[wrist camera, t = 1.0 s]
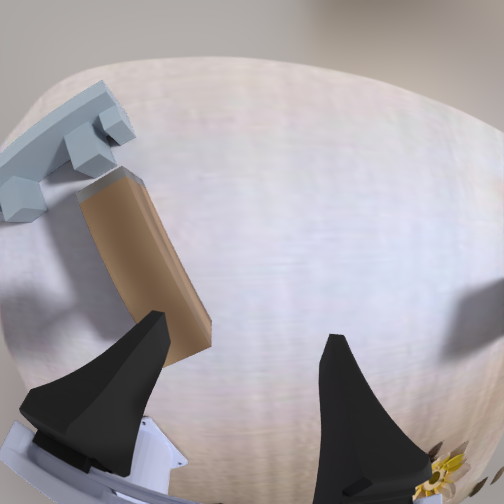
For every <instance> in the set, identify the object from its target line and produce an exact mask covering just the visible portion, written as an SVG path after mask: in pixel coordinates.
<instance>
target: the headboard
mask: <svg viewBox="0 0 504 504" xmlns="http://www.w3.org/2000/svg"><path fill="white" fill-rule="evenodd" d="M109 135H110V136H111V137H112V138H113V139H114V140H115V141H116V142H118V143H119V144H120V145H123V144H124V143H126V142H128V141H130V140H132V139H134V138H135V137H136V135H135V133H134V131H133V128H132V126H131V123H130V121H129V118H128V116H127V113H126V112H125V111H124V109H123V108H122V106H121V105H120V104H119V102H118V101H117V100H116V98H115V97H114V95H113V94H112V93H111V91H110V90H109V89H108V87H107V86H106V84H105V83H104V82H103V80H101V81H99V82H98V83H96V84H94V85H93V86H91V87H89V88H88V89H86V90H84V91H83V92H81V93H79V94H78V95H76V96H75V97H73V98H72V99H70V100H68V101H67V102H65V103H64V104H63V105H61V106H60V107H58V108H57V109H55V110H54V111H52V112H51V113H50V114H48V115H47V116H46V117H44V118H43V119H41V120H40V121H39V122H38V123H36V124H35V125H34V126H32V127H31V128H30V129H29V130H27V131H26V132H25V133H24V134H22V135H21V136H20V137H19V138H18V139H16V140H15V141H14V142H13V143H12V144H11V145H10V146H8V147H7V148H6V149H5V150H4V151H3V152H2V153H1V154H0V221H5V222H33V221H34V220H35V219H37V218H38V217H39V216H41V215H42V214H43V213H45V212H46V211H47V207H46V204H45V201H44V198H43V194H42V191H41V188H40V185H39V182H40V181H41V180H42V179H44V178H45V177H46V176H48V175H49V174H50V173H52V172H53V171H54V170H56V169H57V168H59V167H60V166H61V165H63V164H64V163H66V162H67V161H69V160H70V159H71V161H72V164H73V167H74V170H77V171H79V172H81V173H84V174H86V175H88V176H91V177H93V178H97V177H99V176H100V175H102V174H103V173H105V172H107V171H108V170H110V169H112V168H114V167H115V166H117V164H116V161H115V159H114V156H113V154H112V151H111V148H110V146H109V143H108V140H107V138H106V137H107V136H109Z"/></svg>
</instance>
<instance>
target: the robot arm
mask: <svg viewBox="0 0 504 504" xmlns="http://www.w3.org/2000/svg"><path fill="white" fill-rule="evenodd" d="M170 344H171V340H170V336H169V331H168V326H167V321H166V316H165V312H160V311H155V310H152V311H151V312H150V313H148V314H147V315H146V316H145V317H144V318H143V319H142V320H141V321H140V322H139V323H138V324H136V325H135V326H134V327H133V328H132V329H131V330H130V331H129V332H128V333H126V334H125V335H124V336H123V337H122V338H121V339H120V340H118V341H117V342H116V343H115V344H114V345H112V346H111V347H110V348H109V349H107V350H106V351H105V352H104V353H102V354H101V355H99V356H98V357H97V358H95V359H94V360H92V361H91V362H89V363H88V364H86V365H85V366H83V367H81V368H79V369H78V370H76V371H74V372H72V373H70V374H68V375H66V376H64V377H62V378H60V379H58V380H55V381H53V382H51V383H48V384H45V385H42V386H39V387H37V388H33V389H31V390H30V391H29V393H28V395H27V396H26V398H25V400H24V401H23V403H22V405H21V406H20V408H19V410H20V412H21V414H22V415H23V416H24V417H25V418H26V419H27V420H28V421H29V422H30V423H31V424H32V425H33V426H34V427H35V428H37V429H38V431H37V432H36V434H35V433H34V432H33V431H31V430H30V429H28V428H27V427H25V426H24V425H23V424H21V423H20V422H18V421H17V420H16V421H15V422H14V423H13V425H12V427H11V429H10V431H9V433H8V435H7V437H6V438H5V441H4V442H3V444H2V446H1V448H0V460H1V461H2V462H4V463H5V464H6V465H7V466H8V467H10V468H11V469H12V470H13V471H14V472H16V473H17V474H18V475H19V476H21V477H22V478H23V479H24V480H26V481H27V482H28V483H29V484H31V485H32V486H33V487H35V488H36V489H37V490H39V491H40V492H41V493H43V494H44V495H46V496H47V497H48V498H50V499H51V500H53V501H54V502H55V503H57V504H203V503H198V502H194V501H190V500H185V499H181V498H178V497H174V496H170V495H168V486H169V477H170V469H173V468H176V467H180V466H184V465H187V464H188V461H187V459H186V458H185V457H184V456H183V455H182V454H181V453H180V452H179V451H178V450H177V448H176V447H175V446H174V445H173V444H172V443H171V442H170V441H169V439H168V438H167V437H166V436H165V435H164V434H163V432H162V431H161V430H160V429H159V428H158V426H157V425H156V424H155V423H154V422H153V420H152V419H151V418H149V417H144V418H142V417H143V414H144V410H145V407H146V404H147V402H148V399H149V397H150V395H151V392H152V390H153V388H154V386H155V383H156V381H157V379H158V377H159V374H160V372H161V370H162V368H163V365H164V363H165V361H166V357H167V354H168V351H169V347H170ZM319 397H320V413H321V445H320V457H319V467H318V474H317V482H316V488H315V494H314V499H313V504H443V503H442V494H441V493H439V494H435V495H432V496H428V497H424V498H420V499H417V500H414V501H413V495H415V494H416V489H415V487H417V486H419V485H421V484H423V483H425V482H426V481H428V480H430V479H431V477H432V476H433V473H432V465H431V461H430V457H429V456H428V455H427V454H426V453H425V452H424V451H422V450H421V449H420V448H419V447H418V446H417V445H415V444H414V443H413V442H412V441H411V440H410V439H409V438H408V437H407V436H406V435H405V434H404V432H403V431H402V430H401V429H400V428H399V427H398V426H397V424H396V423H395V422H394V421H393V420H392V419H391V417H390V416H389V415H388V413H387V412H386V411H385V409H384V408H383V407H382V405H381V404H380V402H379V401H378V399H377V398H376V396H375V395H374V393H373V391H372V390H371V388H370V386H369V385H368V383H367V381H366V380H365V378H364V376H363V374H362V372H361V370H360V368H359V366H358V364H357V362H356V360H355V358H354V356H353V354H352V352H351V350H350V347H349V345H348V343H347V341H346V338H345V336H344V335H338V334H329V337H328V340H327V343H326V346H325V349H324V352H323V354H322V357H321V360H320V363H319ZM143 422H145V423H143ZM178 462H180V463H178Z"/></svg>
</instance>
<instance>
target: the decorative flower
mask: <svg viewBox="0 0 504 504" xmlns="http://www.w3.org/2000/svg"><path fill="white" fill-rule="evenodd" d="M468 442H469V440H467V441H466V442H464V443H463V444H462V445H460V446H459V447H457V448H456V449H455V450H454V451H453V452H451V453H445V454H443V455H442V456H440V457H439V458H438V459H437V460H436V461H435V460H434V462H433V463H432V462H431V465H432V473H433V476H432V477H431V479H430V480H428V481H426V482H425V483H423V484H421V485H419V486H417V487H415V489H416V494H415V495H413V501H414V500H417V499H420V498H424V497H428V496H432V495H435V494H439V493H441V494H442V500H443V501H447V502H448V501H450V500H451V499H452V498H453V497H454V495H455V490H456V488H455V485H454V482H456V481H458V480H459V479H460V478H462V477H463V476H464V475H465V474H466V473H467V472H468V471H469V470H470V469H471V467H470V464H467V463H464V462H465V461H466V460H467V458H468V457H465V454H463V453H464V451H465V449H466V447H467V444H468ZM443 464H444V465H443Z"/></svg>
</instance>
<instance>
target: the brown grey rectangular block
mask: <svg viewBox="0 0 504 504" xmlns="http://www.w3.org/2000/svg"><path fill="white" fill-rule="evenodd" d="M76 197H77V200H78V202H79V205H80V208H81V210H82V213H83V215H84V218H85V220H86V223H87V225H88V228H89V230H90V232H91V235H92V237H93V239H94V242H95V244H96V246H97V248H98V251H99V253H100V255H101V257H102V259H103V262H104V264H105V266H106V268H107V270H108V272H109V274H110V276H111V278H112V280H113V282H114V284H115V286H116V288H117V290H118V292H119V294H120V296H121V298H122V300H123V301H124V303H125V305H126V307H127V309H128V311H129V312H130V314H131V316H132V318H133V320H134V321H135V323H136V324H138V323H139V322H140V321H141V320H142V319H143V318H144V317H145V316H146V315H147V314H148V313H150V312H151V311H152V310H155V311H160V312H165V316H166V321H167V326H168V331H169V336H170V340H171V344H170V347H169V351H168V354H167V357H166V361H165V363H164V365H163V368H164V367H166V366H169V365H171V364H173V363H176V362H178V361H180V360H183V359H185V358H187V357H189V356H192V355H194V354H196V353H198V352H200V351H203V350H205V349H207V348H209V347H211V326H212V320H211V319H210V317H209V315H208V313H207V311H206V309H205V308H204V306H203V304H202V302H201V300H200V298H199V296H198V295H197V293H196V291H195V289H194V287H193V285H192V283H191V281H190V279H189V277H188V275H187V273H186V271H185V269H184V267H183V265H182V264H181V262H180V260H179V258H178V256H177V253H176V251H175V249H174V247H173V245H172V243H171V241H170V239H169V237H168V235H167V233H166V231H165V229H164V227H163V224H162V222H161V220H160V218H159V216H158V214H157V212H156V209H155V207H154V205H153V203H152V201H151V198H150V196H149V194H148V192H147V189H146V187H145V185H144V183H143V180H142V179H140V178H139V177H137V176H136V175H135V174H133V173H132V172H130V171H129V170H127V169H126V168H124V167H123V166H121V167H119V168H117V169H116V170H114V171H112V172H110V173H109V174H107V175H105V176H104V177H102V178H100V179H99V180H97V181H95V182H94V183H92V184H91V185H89V186H87V187H86V188H84V189H83V190H81V191H80V192H78V193H77V194H76Z"/></svg>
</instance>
